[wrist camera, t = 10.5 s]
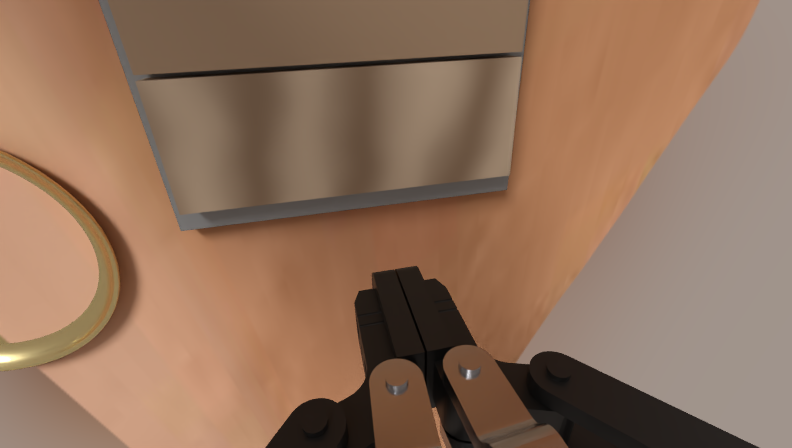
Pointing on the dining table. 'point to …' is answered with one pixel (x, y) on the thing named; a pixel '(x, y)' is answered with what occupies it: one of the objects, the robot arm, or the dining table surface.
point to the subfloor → (307, 61)
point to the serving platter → (104, 302)
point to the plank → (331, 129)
